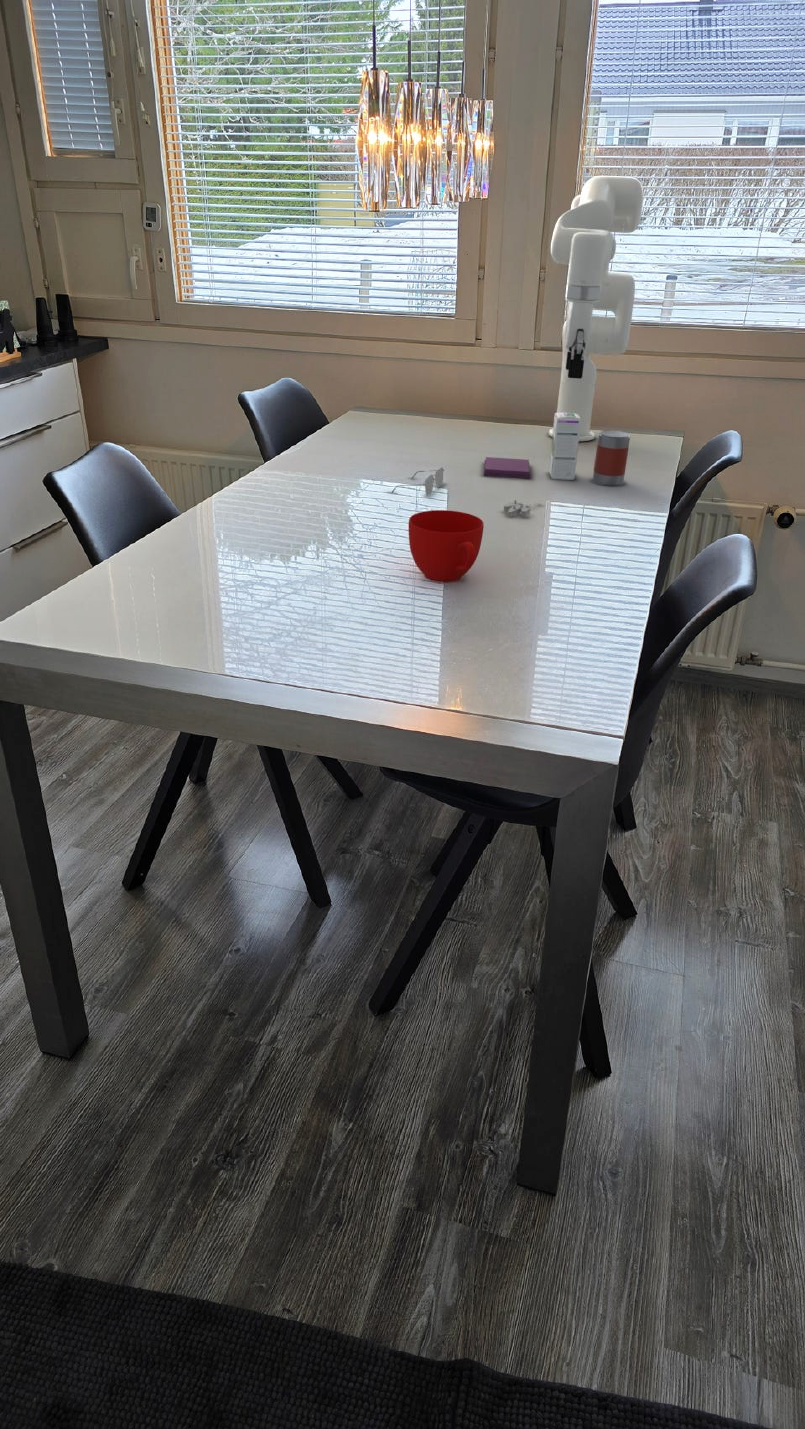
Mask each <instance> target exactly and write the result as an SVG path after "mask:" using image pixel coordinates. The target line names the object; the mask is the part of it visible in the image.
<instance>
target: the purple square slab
mask: <svg viewBox="0 0 805 1429" xmlns="http://www.w3.org/2000/svg"><path fill="white" fill-rule="evenodd" d="M483 477H496V478H507V479H509V478H510V479H523V480H524V479H525V480H530V479H531V466H530V460H529V459H525V458H524V459H522V458H510V457H509V458H507V457H494V456H485V459H484V466H483Z"/></svg>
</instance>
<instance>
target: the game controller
mask: <svg viewBox="0 0 805 1429" xmlns="http://www.w3.org/2000/svg"><path fill="white" fill-rule="evenodd" d="M536 504H539V505H538V506H540V505H541V504H540V503H538V502H536V503H535V504H534V505H533V506H531V504H527V503H523V502H518V501H517V500H516V499H515V500H513V501H509V502H507V503H505V504H503V512H505V513H507V516H508V518H513V517H515V516H517V515H519V514H521V517H524V518H525V517H527V516H528V515H530V513H531V507H535V506H536Z"/></svg>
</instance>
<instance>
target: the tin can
mask: <svg viewBox="0 0 805 1429" xmlns="http://www.w3.org/2000/svg"><path fill="white" fill-rule="evenodd" d="M630 440H631V436H630V434H629V433H627V432H624V431H620V430H603V431H600V432H599V433H598V437H597V443H596V450H595V458H594V464H593V473H592V482H593V483H594V484H597V485H601V486H607V487H619V486H622V485H624V481H625V475H626V469H627V463H628V462H627V461H628V456H629V455H628V454H629V449H630V448H629V447H630Z"/></svg>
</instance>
